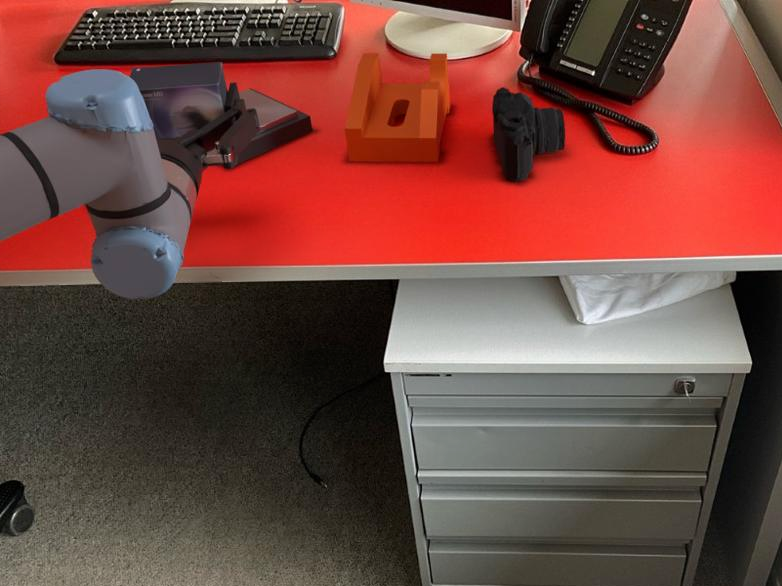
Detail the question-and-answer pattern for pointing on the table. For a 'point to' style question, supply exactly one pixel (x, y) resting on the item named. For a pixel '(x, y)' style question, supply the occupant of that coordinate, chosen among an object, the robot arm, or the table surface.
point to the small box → (182, 96)
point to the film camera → (524, 132)
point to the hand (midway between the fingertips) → (188, 96)
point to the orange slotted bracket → (387, 100)
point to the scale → (272, 124)
